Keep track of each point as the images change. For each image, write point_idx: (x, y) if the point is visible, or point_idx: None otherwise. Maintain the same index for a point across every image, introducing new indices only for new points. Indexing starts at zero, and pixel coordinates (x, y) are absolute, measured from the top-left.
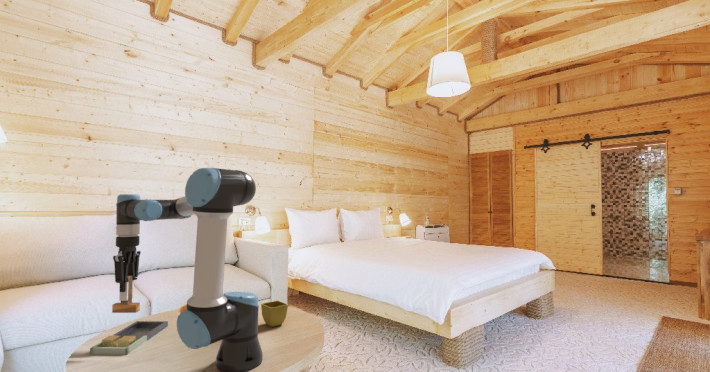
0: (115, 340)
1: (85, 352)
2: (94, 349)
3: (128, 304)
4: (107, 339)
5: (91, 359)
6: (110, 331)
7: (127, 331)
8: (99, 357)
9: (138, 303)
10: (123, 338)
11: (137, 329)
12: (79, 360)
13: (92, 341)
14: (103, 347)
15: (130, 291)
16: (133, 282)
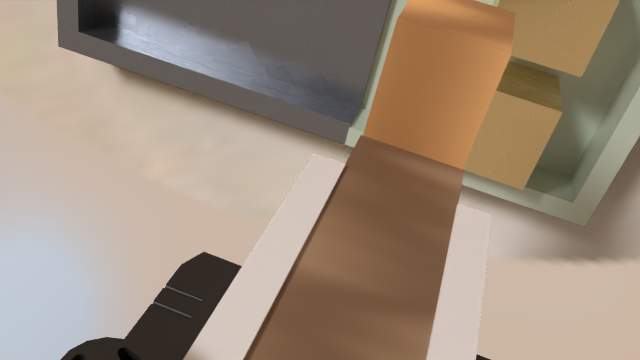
0: (534, 96)
1: None
2: (599, 196)
3: (464, 160)
4: (529, 156)
5: (633, 175)
6: (146, 172)
7: (219, 67)
8: None
9: (437, 29)
10: (556, 39)
11: (152, 10)
12: (616, 234)
13: None
14: (611, 149)
15: (359, 260)
16: (202, 342)
